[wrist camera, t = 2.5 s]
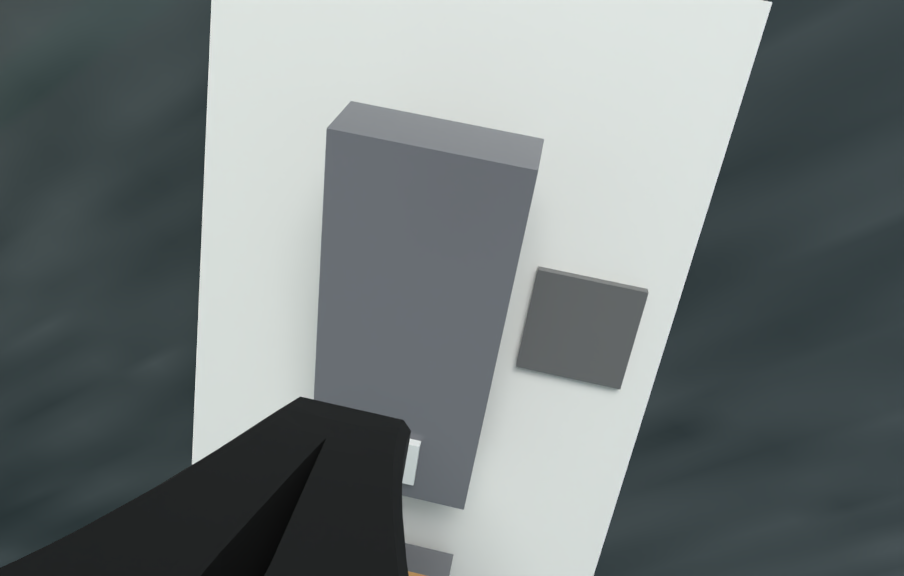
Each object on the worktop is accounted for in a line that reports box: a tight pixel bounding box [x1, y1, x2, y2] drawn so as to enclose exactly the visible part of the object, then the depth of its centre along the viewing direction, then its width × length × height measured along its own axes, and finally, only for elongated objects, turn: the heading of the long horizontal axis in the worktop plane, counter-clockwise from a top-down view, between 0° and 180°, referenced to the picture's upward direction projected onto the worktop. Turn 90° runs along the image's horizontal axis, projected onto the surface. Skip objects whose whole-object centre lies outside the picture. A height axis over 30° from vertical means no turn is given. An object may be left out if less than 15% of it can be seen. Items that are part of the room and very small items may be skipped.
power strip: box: [192, 0, 772, 576], centre depth 18 cm, size 9×36×4 cm, turn 170°
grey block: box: [314, 101, 544, 510], centre depth 13 cm, size 3×7×1 cm, turn 170°
